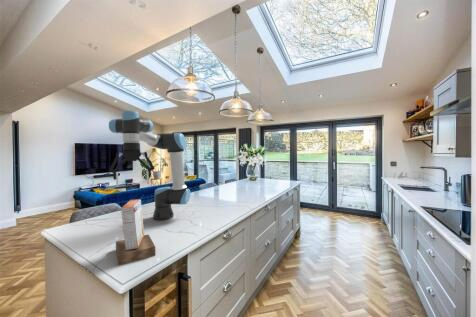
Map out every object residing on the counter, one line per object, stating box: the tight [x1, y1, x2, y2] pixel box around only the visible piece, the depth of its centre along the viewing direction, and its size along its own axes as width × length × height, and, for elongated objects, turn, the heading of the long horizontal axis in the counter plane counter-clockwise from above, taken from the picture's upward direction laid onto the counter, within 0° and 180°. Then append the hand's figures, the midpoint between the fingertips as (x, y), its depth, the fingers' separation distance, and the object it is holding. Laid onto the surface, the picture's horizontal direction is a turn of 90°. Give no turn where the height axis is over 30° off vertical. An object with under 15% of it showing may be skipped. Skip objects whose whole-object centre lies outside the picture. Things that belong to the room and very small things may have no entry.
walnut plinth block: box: [115, 233, 156, 266], centre depth 106 cm, size 16×18×5 cm
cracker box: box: [120, 199, 145, 250], centre depth 105 cm, size 14×6×21 cm, turn 12°
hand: (133, 184), depth 105 cm, fingers open, 13 cm apart
